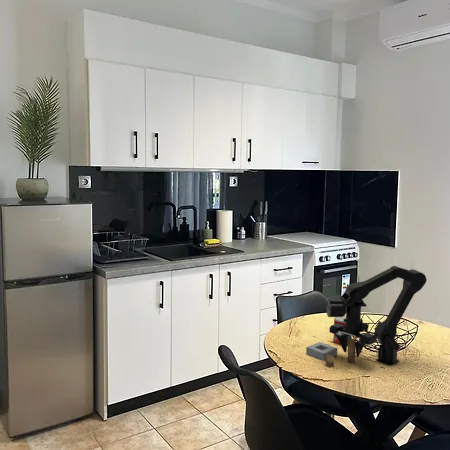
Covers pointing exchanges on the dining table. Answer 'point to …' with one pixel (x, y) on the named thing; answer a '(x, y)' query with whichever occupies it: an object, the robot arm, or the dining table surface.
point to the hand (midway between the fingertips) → (351, 354)
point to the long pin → (351, 350)
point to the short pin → (329, 360)
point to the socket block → (321, 350)
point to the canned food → (341, 321)
